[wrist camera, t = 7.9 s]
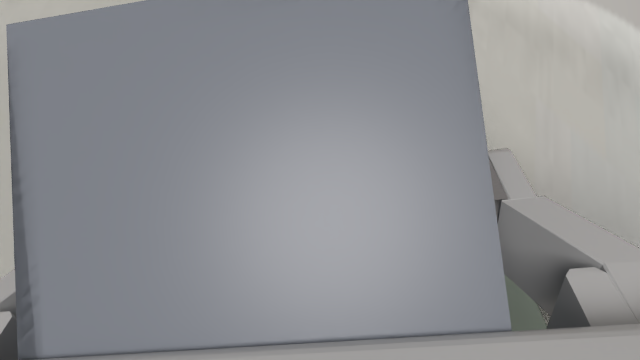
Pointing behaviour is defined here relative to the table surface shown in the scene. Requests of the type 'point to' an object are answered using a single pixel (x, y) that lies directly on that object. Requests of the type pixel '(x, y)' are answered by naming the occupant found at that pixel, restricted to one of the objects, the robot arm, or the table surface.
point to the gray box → (249, 176)
